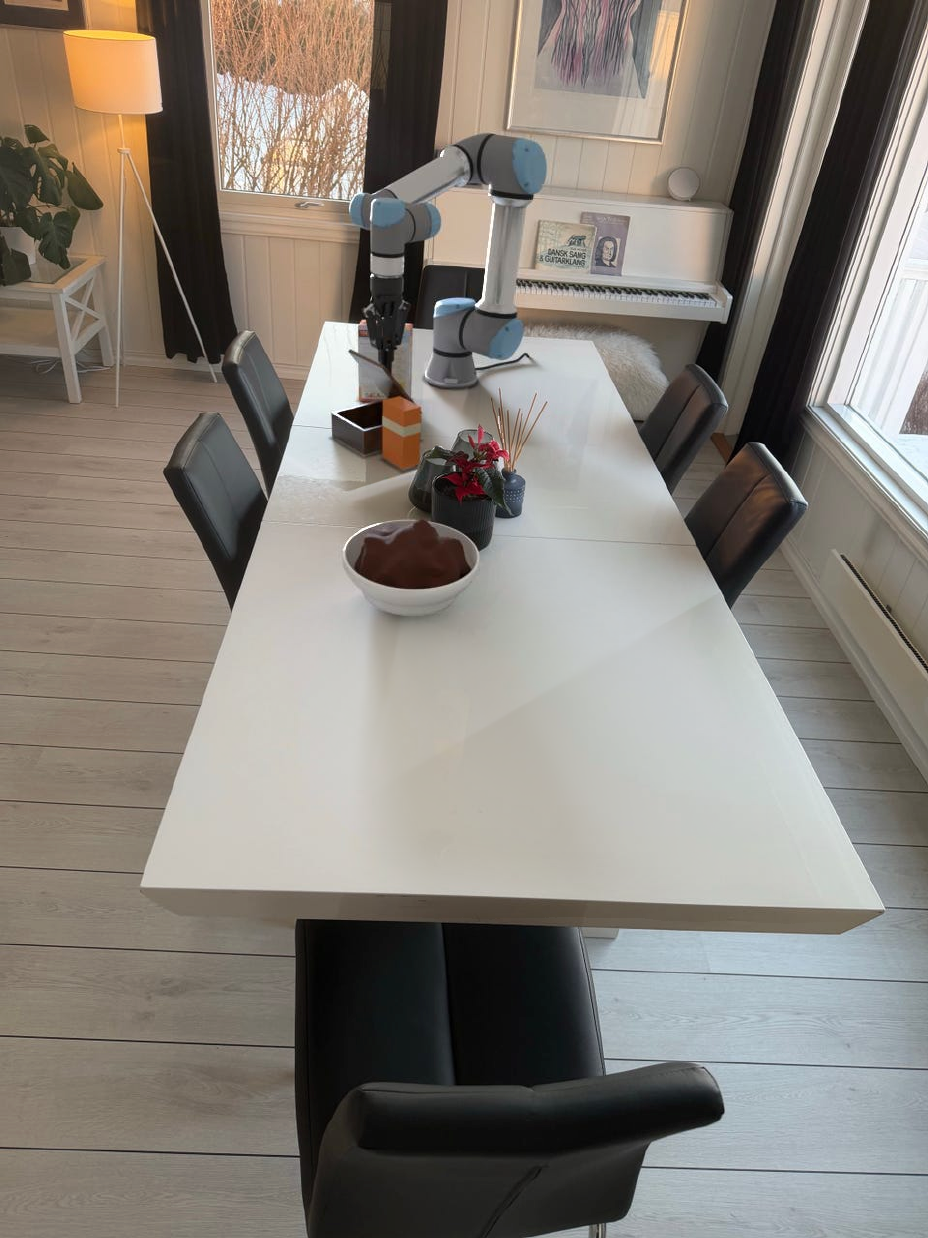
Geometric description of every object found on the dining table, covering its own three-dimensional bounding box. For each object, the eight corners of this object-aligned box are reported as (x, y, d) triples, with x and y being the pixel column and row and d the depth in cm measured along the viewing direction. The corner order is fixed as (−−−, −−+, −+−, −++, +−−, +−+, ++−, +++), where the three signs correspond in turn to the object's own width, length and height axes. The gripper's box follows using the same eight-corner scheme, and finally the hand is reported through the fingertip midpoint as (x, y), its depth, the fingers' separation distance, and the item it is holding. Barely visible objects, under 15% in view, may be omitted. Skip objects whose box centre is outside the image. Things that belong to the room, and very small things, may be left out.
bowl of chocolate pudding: (357, 555, 169) (356, 486, 161) (482, 568, 168) (488, 500, 160) (329, 628, 149) (326, 554, 140) (470, 643, 148) (476, 570, 139)
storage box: (364, 457, 206) (363, 431, 202) (331, 438, 214) (331, 412, 210) (420, 441, 216) (421, 415, 212) (387, 423, 224) (387, 398, 220)
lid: (382, 368, 196) (384, 365, 196) (347, 351, 204) (349, 348, 204) (420, 415, 211) (422, 412, 211) (387, 397, 219) (388, 395, 219)
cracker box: (411, 398, 239) (413, 322, 226) (408, 406, 234) (410, 329, 222) (362, 393, 239) (362, 317, 227) (358, 401, 234) (357, 324, 222)
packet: (398, 454, 208) (399, 395, 200) (419, 466, 204) (421, 406, 195) (381, 459, 205) (382, 400, 197) (402, 472, 201) (404, 411, 192)
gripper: (399, 267, 199) (397, 366, 213) (353, 273, 192) (354, 375, 205) (419, 274, 195) (416, 375, 208) (373, 281, 187) (373, 385, 201)
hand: (385, 375), depth 207 cm, fingers closed
